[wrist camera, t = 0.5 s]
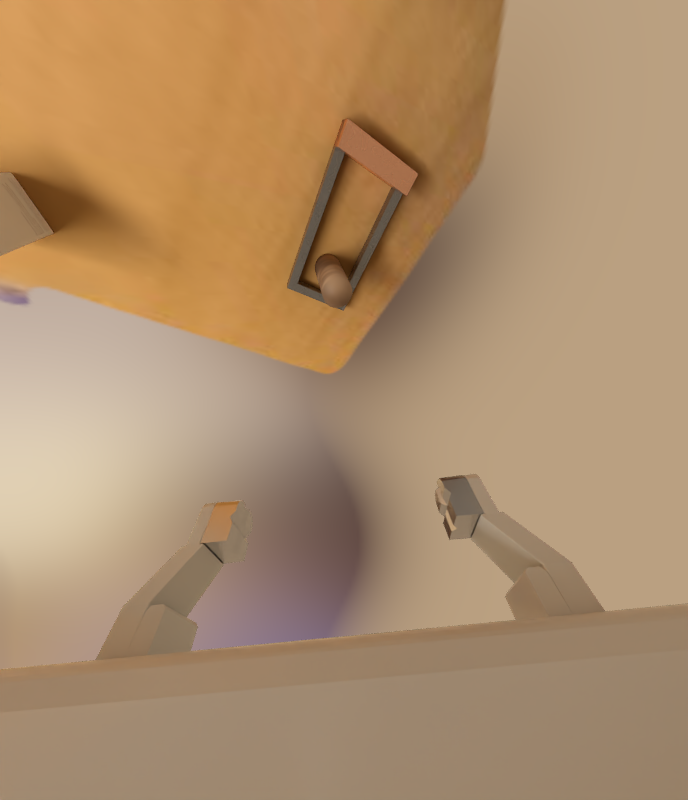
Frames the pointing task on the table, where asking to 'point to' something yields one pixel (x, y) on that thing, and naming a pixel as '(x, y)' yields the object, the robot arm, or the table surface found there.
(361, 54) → the table surface
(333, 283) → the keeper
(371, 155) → the guide track
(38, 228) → the supplement box
